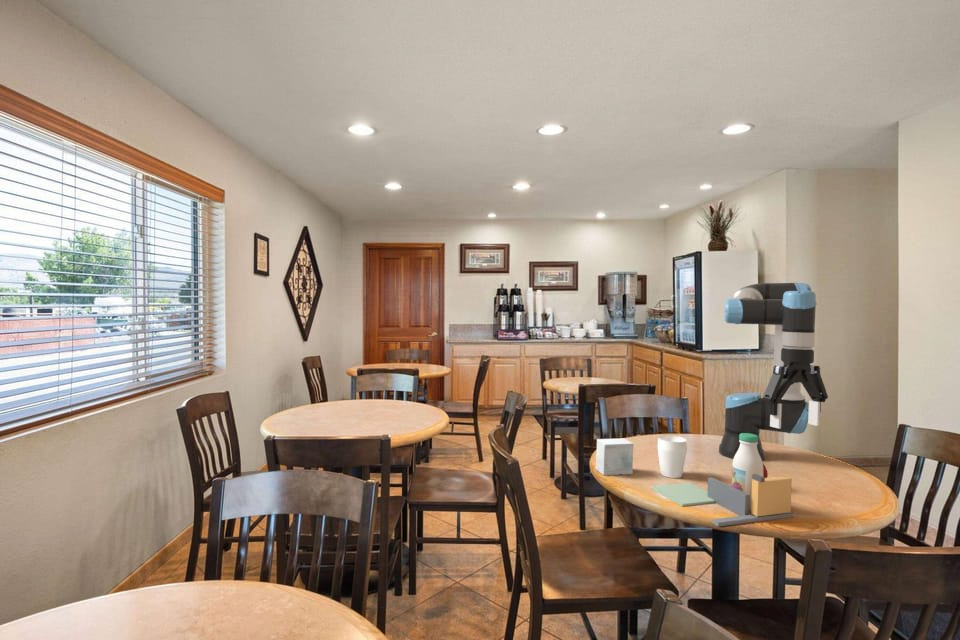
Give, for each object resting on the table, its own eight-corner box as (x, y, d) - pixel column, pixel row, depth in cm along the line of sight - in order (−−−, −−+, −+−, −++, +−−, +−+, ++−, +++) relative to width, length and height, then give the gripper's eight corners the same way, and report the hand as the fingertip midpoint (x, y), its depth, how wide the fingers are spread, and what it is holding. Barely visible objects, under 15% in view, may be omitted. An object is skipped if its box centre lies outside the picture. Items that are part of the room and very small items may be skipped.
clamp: (746, 494, 146) (747, 474, 146) (794, 516, 131) (795, 494, 131) (675, 502, 139) (676, 481, 139) (717, 526, 124) (718, 502, 124)
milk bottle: (759, 502, 140) (761, 432, 139) (765, 513, 133) (767, 439, 132) (729, 498, 142) (731, 430, 142) (733, 509, 135) (735, 436, 135)
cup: (688, 480, 157) (689, 443, 157) (658, 478, 159) (659, 441, 159) (682, 471, 166) (683, 436, 166) (654, 469, 168) (655, 434, 167)
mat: (689, 484, 154) (690, 482, 154) (723, 501, 140) (723, 499, 140) (651, 488, 150) (651, 486, 150) (682, 506, 136) (682, 504, 136)
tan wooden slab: (782, 508, 133) (784, 471, 132) (791, 512, 130) (793, 474, 130) (749, 512, 130) (751, 474, 129) (758, 517, 127) (759, 477, 127)
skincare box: (603, 476, 160) (604, 444, 160) (595, 469, 166) (596, 438, 166) (633, 474, 162) (634, 442, 162) (623, 468, 169) (624, 437, 168)
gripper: (818, 346, 141) (816, 420, 141) (749, 347, 133) (747, 425, 134) (845, 349, 133) (842, 427, 134) (773, 349, 126) (770, 431, 127)
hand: (794, 426), depth 134 cm, fingers open, 13 cm apart
